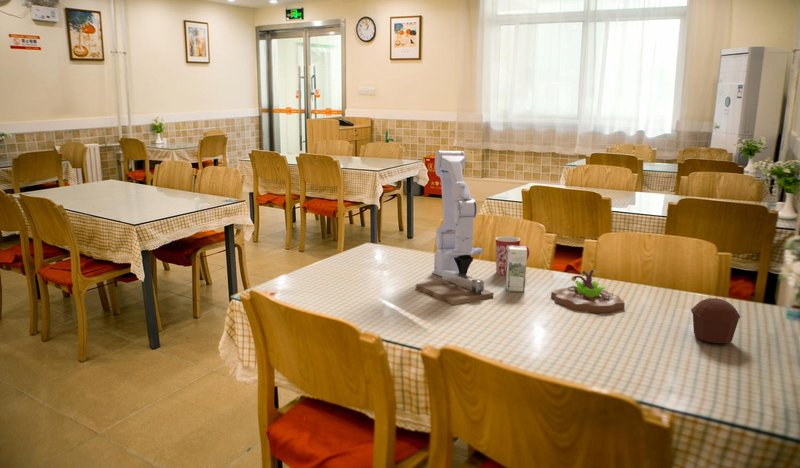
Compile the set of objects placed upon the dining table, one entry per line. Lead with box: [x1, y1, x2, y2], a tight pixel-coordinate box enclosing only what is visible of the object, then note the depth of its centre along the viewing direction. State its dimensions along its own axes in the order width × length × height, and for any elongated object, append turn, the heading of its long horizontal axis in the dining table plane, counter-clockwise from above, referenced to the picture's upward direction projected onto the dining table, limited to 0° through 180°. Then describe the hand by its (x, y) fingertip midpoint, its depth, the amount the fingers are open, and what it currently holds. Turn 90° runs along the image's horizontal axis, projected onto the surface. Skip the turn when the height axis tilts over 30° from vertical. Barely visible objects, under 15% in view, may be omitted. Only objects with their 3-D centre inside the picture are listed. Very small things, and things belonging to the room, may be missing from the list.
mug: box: [495, 236, 530, 277], centre depth 208 cm, size 13×9×14 cm
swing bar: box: [441, 269, 485, 292], centre depth 187 cm, size 18×4×3 cm, turn 33°
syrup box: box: [505, 245, 528, 293], centre depth 191 cm, size 6×6×14 cm
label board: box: [415, 279, 494, 306], centre depth 187 cm, size 20×16×2 cm
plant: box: [550, 268, 626, 314], centre depth 179 cm, size 20×20×11 cm
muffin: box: [690, 297, 742, 344], centre depth 151 cm, size 12×11×10 cm
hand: (462, 277), depth 191 cm, fingers closed
